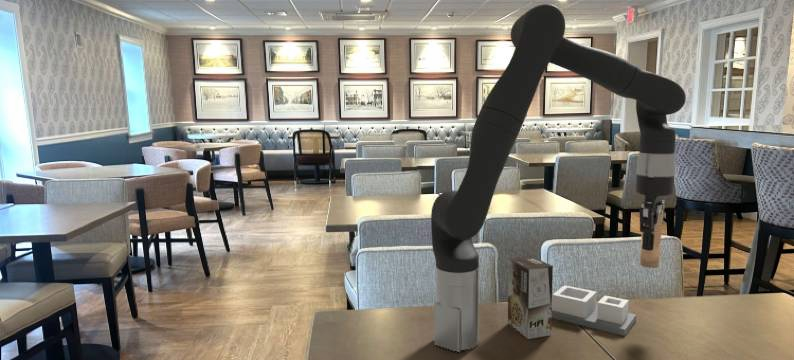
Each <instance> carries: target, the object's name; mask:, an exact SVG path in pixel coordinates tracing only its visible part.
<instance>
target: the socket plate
mask: <svg viewBox="0 0 794 360" xmlns="http://www.w3.org/2000/svg"><path fill="white" fill-rule="evenodd" d="M597 294H598V293H597V291H594V290H590V289H586V288H580V287H575V286H569V285H565V284H564V285H562V287H559V289H557V291H555V292H553V293H552V319H555V320H558V321H559V320H560V321H562V322H563V321H564V322H567V323H570V324H575V325H579V326H582V327H586V328H591V329H596V330H599V331H602V332H607V333H611V334H614V335H619V336H623V337H625V336H626V335H627V334H628V332H629V331H630V330H631V328H632V327H634V325H635V323H636V322H637V314H634V313H632V312H631V313H630V312H629V301H630V300H629V299H624V298H619V297H614V296H609V295H604V296H603V297H602V298H600V300H599V301H598V302H597Z"/></svg>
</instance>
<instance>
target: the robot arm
mask: <svg viewBox="0 0 794 360" xmlns="http://www.w3.org/2000/svg"><path fill="white" fill-rule="evenodd" d="M565 31H566V19H565V16H564V14H563V12H562V10H561V9H560V8H559V7H557V6H556V5H553V4H549V3H544V4H543V3H542V4H538V5H536V6H534V7H532V8H530V9H529V10H527V11H526V12H525V13H523V14H522V15H521V16H520V17H519V18H517V19H516V20H515V22H514V23H513V25H512V28H511V30H510V40H511V42H512V45H513V47H514V50H513V53H512V56H511V58H510V61H509V62H508V64H507V66H506V68H505V69H504V71H503V72H502V73H501V75H500V77H499V78H498V80H497V81H496V82H495V84H494V85H493V86H492V88H491V90H490V92H489V93H488V95H487V96H486V98H485V99H484V101H483V103H482V106H481V108H480V111H479V113H478V116H477V118H476V119H475V123H474V125H473V127H472V131H471V136H470V144H469V145H470V146H469V147H470V148H469V159H468V165H467V168H466V171H465V174H464V177H463V179H462V181H461V183H460V185H459V187H458V189H457V190H446V191H443V192H442V193H440V194H439V195H438V196H437V197H436V199H435V200H434V201H433V203H432V207H431V212H430V213H431V215H430V218H431V219H430V222H431V228H430V229H431V244H432V245H431V246H432V252H433V255H434V259H435V303H434V304H433V311H434V312H433V314H434V315H433V317H434V318H433V319H434V321H433V322H434V325H433V326H434V329H433V330H434V332H433V333H434V345H435V344H436V345H439V346H442V347H444V348H443V349H445V348H447V349H446V350H448V349H450V350H449V351H451V350H453V351H452V352H454V351H457V352H459V353H461V352H462V351H461V350H465V349H470V348H472V347H474V346H476V345H477V344H478V345H479V343H478V342H480V339H479V337H480V333H479V330H480V329H479V328H480V323H479V316H480V315H479V313H480V312H479V311H480V308H479V306H480V305H479V304H480V302H479V301H480V299H479V298H480V295H479V293H480V291H479V290H480V289H479V288H480V287H479V286H480V285H479V283H480V280H479V279H480V278H479V277H480V273H479V272H480V270H479V269H480V266H479V265H480V262H479V261H480V257H479V253H478V252H477V250H476V247H475V245H474V242H473V237H475V236H476V235H477V234H479V232H481V229H482V228H483V226H484V224H485V222H486V219H487V216H488V213H489V209H490V206H491V203H492V201H493V198H494V194H495V191H496V188H497V184H498V182H499V179H500V177H501V175H502V172H503V171H504V168H505V165H506V163H507V160H508V158H509V156H510V154H511V151H512V149H513V146H514V144H515V142H516V140H517V139H518V136H519V135H520V131H521V129H522V127H523V124H524V122H525V120H526V117H527V114H528V112H529V109H530V107H531V104H532V102H533V100H534V97H535V94H536V92H537V90H538V86H539V84H540V81H541V79H542V76H543V74H544V73H545V71H546V69H547V67H548V65H549V63H550V64H552V65H555V66H557V67H560V68H562V69H565V70H568V71H570V72H571V73H574V74H575V75H576V74H577V75H578V76H581V77H583V78H585V79H587V80H589V81H591V82H593V83H594V84H596V85H598V86H600V87H601V88H604V89H605V90H608V91H609V92H611V93H613V94H615V95H617V96H619V97H622V98H625V99H630V100H634V101H635V109H636V110H635V111H636V117H637V124H638V128H639V131H640V132H639V133H640V137H639V147H638V148H639V150H638V151H639V152H638V157H637V162H636V163H637V165H636V174H635V175H636V176H635V192H636V194H638V195H642V196H643V195H644V200H643V201H642V202H641V207H640V208H639V211H638V212H639V231H640V232H641V234H642V233H643V242H642V248H643V249H644V250H650V251H651V250H653V249H654V235H655V227H656V224H658V223H659V216H660V214H663V218H662V225H663V224H664V214H665V209H666V203H667V202H666V200H664V199H663V197H670V196H672V195H673V193H674V185H675V184H674V182H675V172H676V171H675V169H676V159H675V153H676V149H675V148H676V135H677V134H676V130H675V129H674V128H673V127H672V126H670V125H669V124H668V119H667V116H669V115H673V114H676V113H677V112H679V111H680V110H681V109H683V107H684V105H686V99H687V97H686V92H685V90H684V88H683V87H682V86H681V85H680V84H679V83H677V82H676V81H674V80H672V79H671V78H667V77H664V76H662V75H660V74H657V73H654V72H651V71H647V70H645V69H642V67H641V68H640V67H639V66H638V65H636V64H634V63H632V62H631V61H628V60H626V59H624V58H623V57H621V56H619V55H617V54H614V53H612V52H609V51H606V50H603V49H600V48H595V47H593V46H592V47H591V46H587V45H584V44H581V43H579V42H576V41H574V40H572V39H569V38H568V37H566V36H565ZM655 217H656V218H655ZM653 218H655V220H653ZM646 224H649V225H650V227H646ZM436 345H435V346H436ZM478 345H477V346H478ZM439 346H438V347H439ZM477 346H476V347H477ZM442 347H441V348H442ZM472 349H473V348H472ZM470 350H471V349H470ZM460 351H461V352H460ZM465 351H466V350H465ZM457 352H456V353H457Z"/></svg>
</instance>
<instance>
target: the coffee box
mask: <svg viewBox="0 0 794 360" xmlns="http://www.w3.org/2000/svg"><path fill="white" fill-rule="evenodd" d="M553 271H554V265H552V264H549V263H547V262H545V261H544V260H541V259H538V258H536V257H534V256H532V255H525V256H519V257H515V258H508V259H507V324H508V323H509V324H511V325H512V326H513V327H515V328H516V329H517V330H518V331H519V332H520V334H521V335H522V334H523V335H522V336H524V337H525V338H526V339H527V340H531V339H537V338H542V337H549V336H551V335H552V320H553V318H552V295H553V279H554V277H553V275H554V273H553ZM509 324H508V325H509ZM512 326H511V327H512ZM513 327H512V328H513ZM516 329H515V330H516ZM517 330H516V331H517ZM518 331H517V332H518ZM519 332H518V333H519Z"/></svg>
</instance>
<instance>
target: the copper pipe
mask: <svg viewBox="0 0 794 360" xmlns="http://www.w3.org/2000/svg"><path fill="white" fill-rule="evenodd" d="M655 218H656V217H655ZM655 218H653V220H655ZM662 218H663V219H664V216H663V214H660V216H659V223H658V224H656V227H655V235H654V249H653V250H651V251H650V250H644V249H643V248H642V242H643V233H642V232H641V239H640V250H639V251H640V253H639V265H640V266H641V267H644V268H649V269H655V268H657V269H658V268H659V267H660V256H661V244H662V243H661V242H662V229H663V224H662ZM646 227H650V225H649V224H646Z"/></svg>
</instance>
